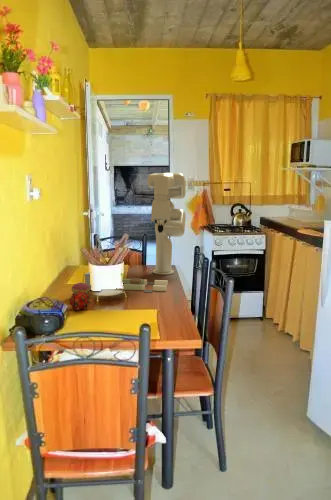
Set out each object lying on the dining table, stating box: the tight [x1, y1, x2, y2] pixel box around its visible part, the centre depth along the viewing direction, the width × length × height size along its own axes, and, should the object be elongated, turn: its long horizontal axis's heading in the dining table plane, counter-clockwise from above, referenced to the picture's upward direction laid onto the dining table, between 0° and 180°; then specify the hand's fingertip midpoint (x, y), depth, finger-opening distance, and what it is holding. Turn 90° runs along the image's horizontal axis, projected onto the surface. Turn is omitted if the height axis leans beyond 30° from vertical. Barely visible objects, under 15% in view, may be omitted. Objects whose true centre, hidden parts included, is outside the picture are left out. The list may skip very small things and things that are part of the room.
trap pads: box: [143, 281, 155, 294], centre depth 218 cm, size 21×4×1 cm, turn 177°
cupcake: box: [71, 272, 91, 294], centre depth 194 cm, size 9×8×12 cm
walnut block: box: [130, 277, 142, 285], centre depth 218 cm, size 5×5×4 cm
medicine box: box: [84, 272, 91, 290], centre depth 208 cm, size 8×4×9 cm, turn 84°
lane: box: [122, 278, 169, 292], centre depth 217 cm, size 12×25×2 cm, turn 87°
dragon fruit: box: [69, 291, 92, 312], centre depth 178 cm, size 8×8×12 cm
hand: (160, 232), depth 227 cm, fingers closed
